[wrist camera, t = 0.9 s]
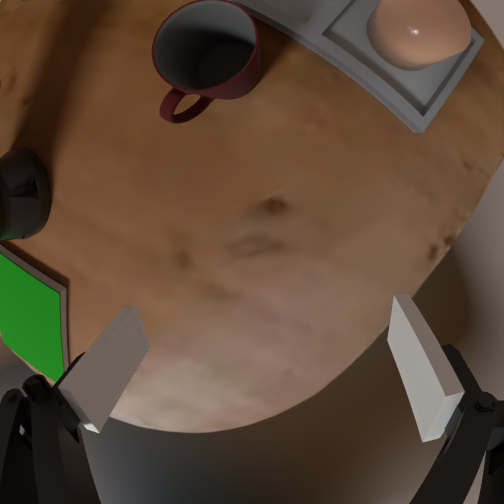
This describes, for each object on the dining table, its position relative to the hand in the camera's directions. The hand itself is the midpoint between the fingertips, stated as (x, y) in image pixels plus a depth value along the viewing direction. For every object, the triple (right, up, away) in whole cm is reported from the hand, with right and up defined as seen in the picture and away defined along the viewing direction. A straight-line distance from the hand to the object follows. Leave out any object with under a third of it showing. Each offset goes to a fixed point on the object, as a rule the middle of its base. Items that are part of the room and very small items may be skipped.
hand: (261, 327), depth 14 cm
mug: (-4, +23, +16) cm, 28 cm away
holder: (+11, +33, +9) cm, 36 cm away
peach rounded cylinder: (+17, +28, +10) cm, 35 cm away
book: (-47, -10, +35) cm, 59 cm away
